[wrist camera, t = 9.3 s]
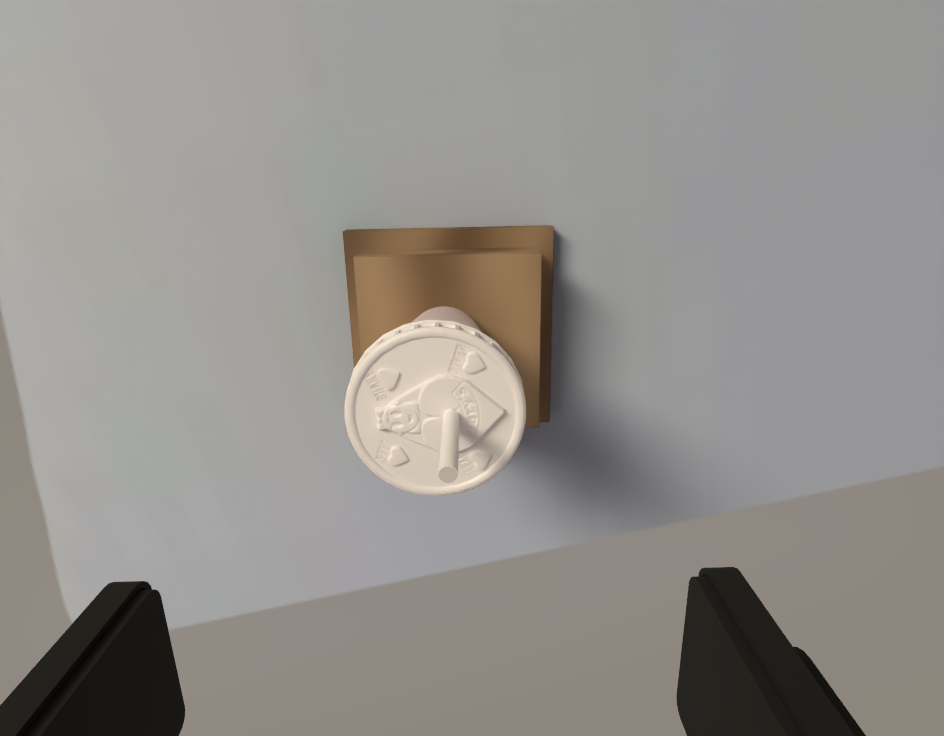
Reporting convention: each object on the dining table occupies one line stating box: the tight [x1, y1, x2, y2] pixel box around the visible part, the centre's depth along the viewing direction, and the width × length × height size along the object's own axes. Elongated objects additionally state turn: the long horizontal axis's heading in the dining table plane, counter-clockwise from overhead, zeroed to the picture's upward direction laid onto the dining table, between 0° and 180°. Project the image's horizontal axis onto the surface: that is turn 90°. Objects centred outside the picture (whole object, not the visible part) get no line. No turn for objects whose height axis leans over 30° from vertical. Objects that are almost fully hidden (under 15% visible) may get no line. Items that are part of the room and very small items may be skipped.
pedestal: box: [343, 226, 554, 427], centre depth 31 cm, size 11×11×4 cm
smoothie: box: [344, 306, 526, 496], centre depth 23 cm, size 6×6×14 cm
